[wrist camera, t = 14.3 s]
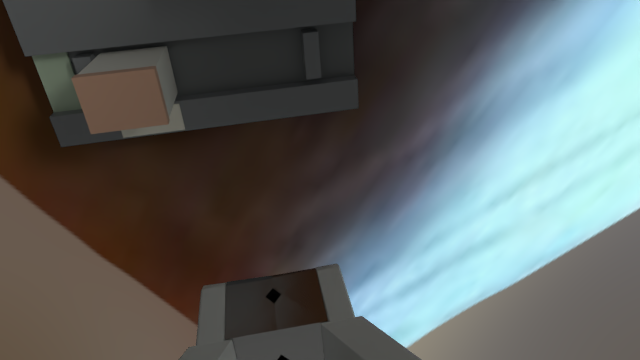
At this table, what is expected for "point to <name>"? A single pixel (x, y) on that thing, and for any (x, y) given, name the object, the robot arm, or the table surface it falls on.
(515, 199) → the table surface
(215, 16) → the switch bank
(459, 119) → the table surface
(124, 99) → the tab
